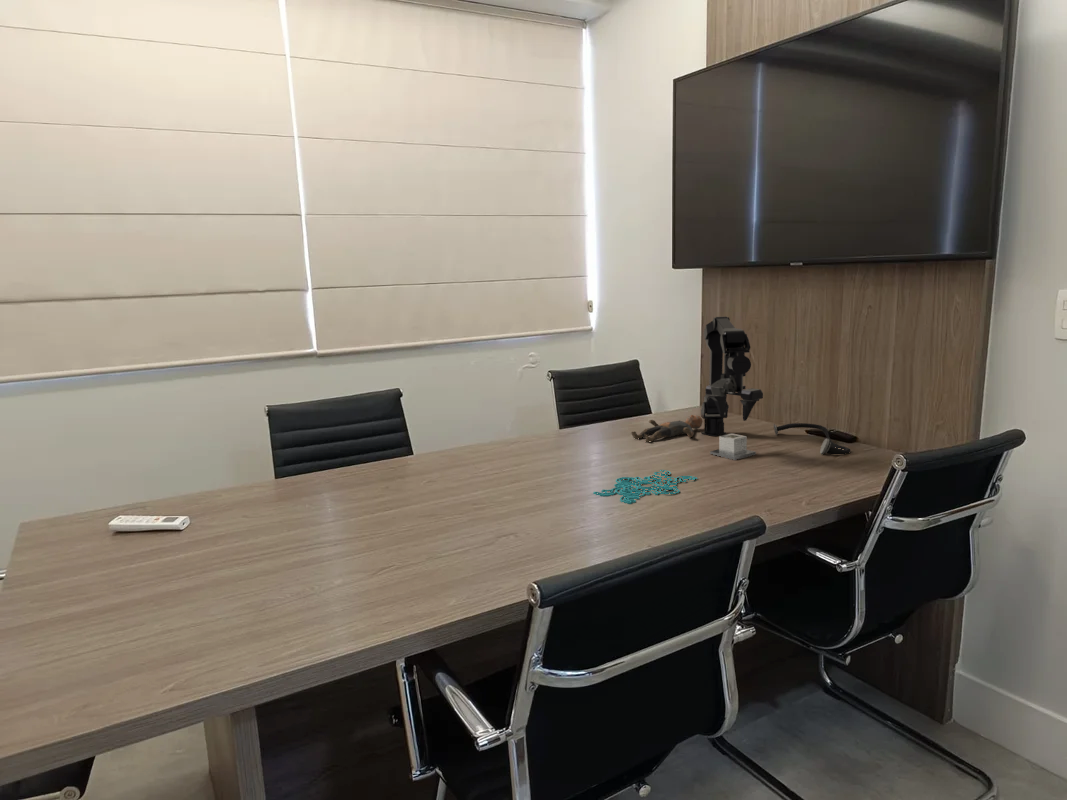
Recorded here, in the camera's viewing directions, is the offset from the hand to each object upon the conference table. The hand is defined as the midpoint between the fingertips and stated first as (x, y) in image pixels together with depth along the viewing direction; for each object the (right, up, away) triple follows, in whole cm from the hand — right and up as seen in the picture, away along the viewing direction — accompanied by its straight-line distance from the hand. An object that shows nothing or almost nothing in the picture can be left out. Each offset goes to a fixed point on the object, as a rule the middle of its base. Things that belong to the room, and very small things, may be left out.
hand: (733, 418), depth 219 cm
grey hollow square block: (0, -11, +2) cm, 11 cm away
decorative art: (-32, -19, -27) cm, 46 cm away
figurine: (-13, -7, +33) cm, 36 cm away
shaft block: (+1, -12, +2) cm, 12 cm away
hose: (+29, -9, +12) cm, 33 cm away
